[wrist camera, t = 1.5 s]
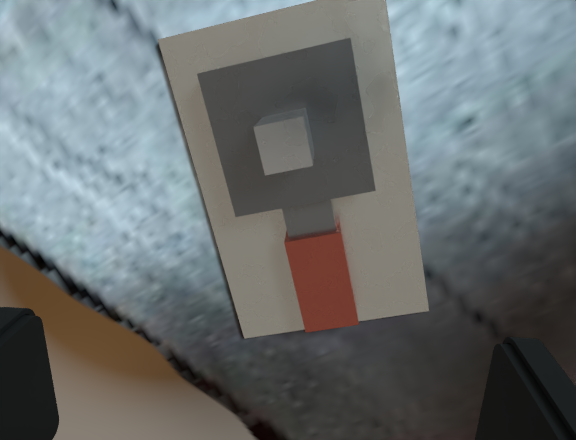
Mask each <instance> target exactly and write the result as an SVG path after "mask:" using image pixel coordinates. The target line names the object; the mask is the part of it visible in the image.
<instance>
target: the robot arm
mask: <svg viewBox="0 0 576 440" xmlns="http://www.w3.org/2000/svg"><path fill="white" fill-rule="evenodd" d="M58 425H59V415H58V409H57V404H56V398H55V392H54V387H53V380H52V375H51V369H50V363H49V358H48V352H47V347H46V341H45V335H44V329H43V323H42V320H41V318H40V317H38V316H35V314H34V312H33V311H32V310H31V309H28V308H12V307H0V440H52V439H53V438H54V436H55V434H56V432H57V428H58ZM475 440H576V387H575V385H574V384H573V383H572V381H571V380H570V379H569V377H568V376H567V375H566V373H565V372H564V371H563V369H562V368H561V367H560V366H559V364H558V363H557V362H556V360H555V359H554V358H553V356H552V355H551V354H550V352H549V351H548V350H547V348H546V347H545V346H544V344H543V343H542V342H541V341H540V340H539V339H532V338H515V337H507V338H506V339H505V340H504V342H503V344H497V345H496V346H495V347H494V351H493V355H492V360H491V365H490V370H489V374H488V379H487V384H486V389H485V394H484V399H483V403H482V408H481V413H480V418H479V423H478V428H477V432H476V437H475Z"/></svg>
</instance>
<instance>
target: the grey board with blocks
mask: <svg viewBox="0 0 576 440" xmlns="http://www.w3.org/2000/svg"><path fill="white" fill-rule="evenodd" d="M158 42H159V46H160V49H161V53H162V56H163V60H164V63H165V66H166V70H167V73H168V77H169V80H170V84H171V87H172V91H173V94H174V98H175V101H176V104H177V108H178V111H179V115H180V118H181V122H182V125H183V129H184V132H185V136H186V139H187V142H188V146H189V149H190V153H191V156H192V160H193V163H194V167H195V170H196V174H197V177H198V180H199V184H200V187H201V191H202V194H203V198H204V201H205V205H206V208H207V212H208V215H209V218H210V222H211V225H212V229H213V232H214V236H215V239H216V243H217V246H218V250H219V253H220V256H221V260H222V263H223V267H224V270H225V274H226V277H227V281H228V284H229V288H230V291H231V294H232V298H233V301H234V305H235V308H236V312H237V315H238V319H239V322H240V325H241V329H242V332H243V336H244V339H245V338H251V337H258V336H265V335H271V334H278V333H285V332H291V331H298V330H305V332H312V331H319V330H326V329H332V328H339V327H346V326H352V325H359V321H365V320H371V319H378V318H385V317H391V316H398V315H405V314H411V313H418V312H425V311H429V307H428V300H427V293H426V286H425V278H424V271H423V264H422V257H421V250H420V242H419V235H418V228H417V221H416V214H415V206H414V199H413V192H412V185H411V178H410V170H409V163H408V156H407V149H406V142H405V134H404V127H403V120H402V113H401V106H400V98H399V91H398V84H397V77H396V69H395V62H394V55H393V48H392V41H391V33H390V26H389V19H388V12H387V5H386V0H316V1H311V2H307V3H303V4H299V5H295V6H291V7H287V8H283V9H279V10H275V11H271V12H267V13H263V14H259V15H255V16H251V17H247V18H243V19H239V20H235V21H231V22H227V23H223V24H219V25H215V26H211V27H207V28H203V29H199V30H195V31H191V32H187V33H183V34H179V35H175V36H171V37H167V38H163V39H159V40H158Z"/></svg>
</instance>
